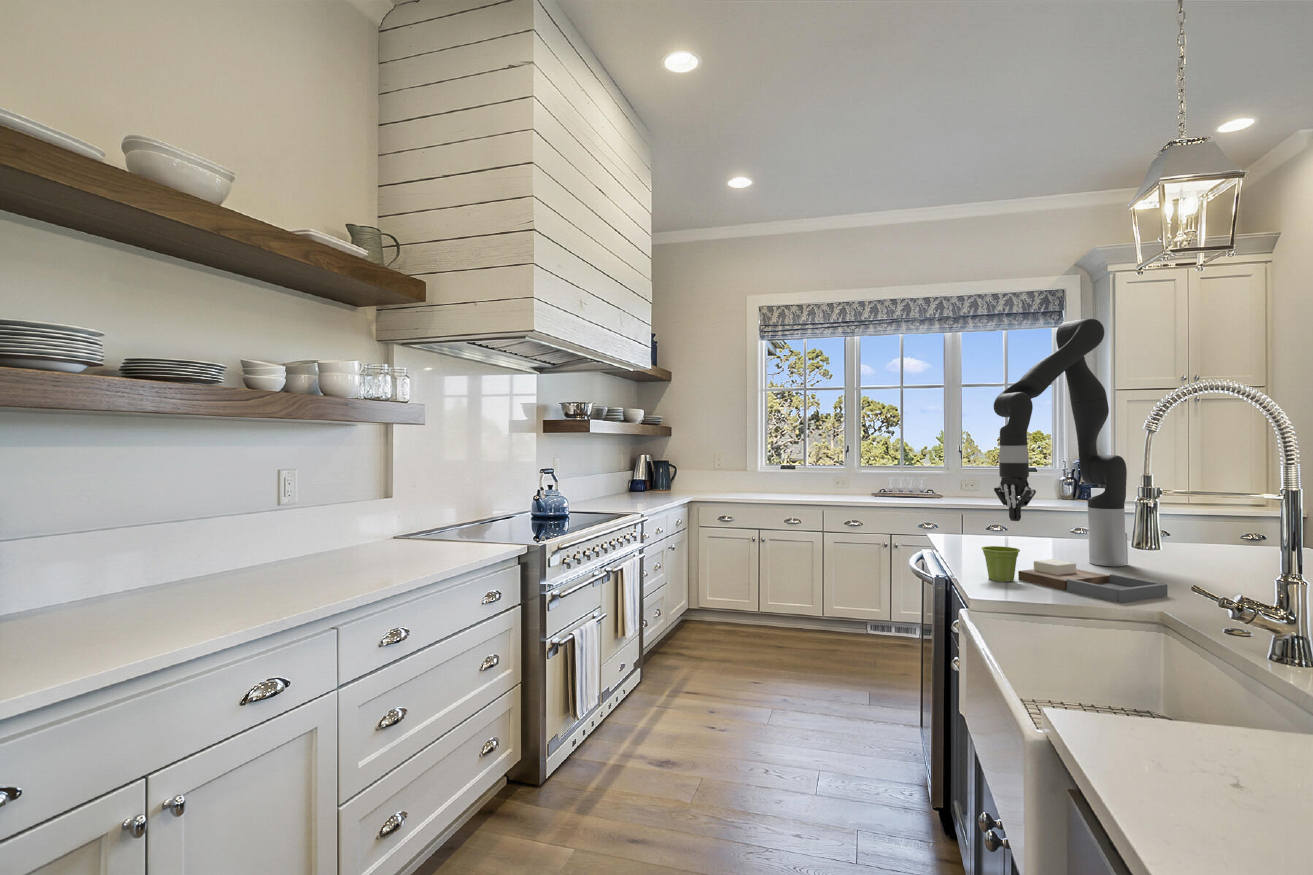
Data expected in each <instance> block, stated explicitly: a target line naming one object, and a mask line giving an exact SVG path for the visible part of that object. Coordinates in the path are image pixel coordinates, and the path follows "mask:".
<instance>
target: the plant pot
mask: <svg viewBox="0 0 1313 875" xmlns="http://www.w3.org/2000/svg"><path fill="white" fill-rule="evenodd" d="M981 550H982V551H983V555H984V557H985V564H986V568H987V576H988V579H989V580H993V581H994V582H1000V583H1001V582H1002V583H1006V582H1007V583H1008V581H1009V582H1014V581H1015V574H1016V566H1017V558H1018V557H1019V552H1020V551H1021V549H1019V548H1017V547H1011V546H1001V545H999V546H998V545H990V546H989V545H987V546H982V547H981Z"/></svg>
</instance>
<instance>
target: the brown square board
mask: <svg viewBox="0 0 1313 875" xmlns="http://www.w3.org/2000/svg"><path fill="white" fill-rule="evenodd" d="M1017 574H1018V575H1017V576H1018V577H1017V578H1018V581H1020V582H1021V581H1022V582H1027V583H1030V584H1034V585H1039V586H1044V587H1048V588H1051V589H1055V590H1061V591H1066V588H1067V579H1073V580H1078V581H1083V582H1087V583H1092V584H1101V583H1110V574H1104V573H1098V572H1094V571H1089V570H1085V569H1077V568H1076V573H1070V574H1061V575H1055V574H1050V573H1045V572H1040V571H1035V570H1034V568H1032V569H1025V570H1018V573H1017ZM1066 592H1067V591H1066Z"/></svg>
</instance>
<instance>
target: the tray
mask: <svg viewBox="0 0 1313 875" xmlns="http://www.w3.org/2000/svg"><path fill="white" fill-rule="evenodd" d="M1109 575H1110V583H1101V584H1092V583H1087V582H1083V581H1078V580H1073V579H1067V588H1066V592H1069V593H1073V594H1079V595H1083V596H1087V597H1089V598H1090V597H1091V598H1096V599H1100V600H1104V601H1109V602H1113V603H1117V604H1125V603H1131V602H1132V603H1133V602H1140V601H1145V600H1146V601H1147V600H1154V599H1162V598H1168V597H1169V596H1168V595H1169V594H1168V584H1167V583H1162V582H1158V581H1153V580H1146V579H1141V578H1136V577H1131V576H1126V575H1120V574H1115V573H1111V574H1109Z"/></svg>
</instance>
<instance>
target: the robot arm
mask: <svg viewBox="0 0 1313 875" xmlns="http://www.w3.org/2000/svg"><path fill="white" fill-rule="evenodd" d="M1055 337H1056V338H1055V340H1056V346H1057V350H1056V351H1054V352H1053V353H1051V354H1049V355H1047V356H1046V357H1044V358H1043V359H1041V360H1039V361H1038V362H1037V363H1034V365H1033V366H1032V367H1031V368H1030V369H1028V371H1027V372H1025V374H1024V375H1023V376H1022V377H1021V378H1020V379H1019V380H1018V381H1016V382H1015V383H1013V384H1012V385H1010V386H1009V387H1007V388H1006V389H1005V390H1003V391H1001V393H999V394H998V396H996V398H995V400H994V402H993V410H994V412H995V414H996V415H998V417H1002V418H1008V421H1007V424H1006V425H1004V426H1002V427H1001V428H999V451H998V452H999V453H998V461H999V462H998V463H999V464H998V468H999V472H998V473H999V475H998V476H999V478H1001V480H1000V481H999V484H1000V485H999V486H997V487H994V488H993V491H994V493H995V494H996V496H997V497H998V500H1000V502H1001V504H1002V505H1003V506H1007V508H1008V518H1009V520H1010V521H1011V522H1019V521H1021V518H1022V508H1023V507H1027V506H1028V505H1029V503H1030V502H1031V500H1032V499H1033V498H1034V497H1035V495H1036V493H1037V490H1035V489H1032V488H1031V487H1030V486H1029V485H1030V484H1029V482H1028V478H1029V476H1030V467H1029V466H1030V464H1029V463H1030V461H1029V460H1030V459H1029V458H1030V457H1029V449H1028V433H1027V432H1028V429H1029V425H1030V422H1031V418H1032V414H1033V406H1034V405H1033V401H1032V399H1034V398H1035V399H1036V398H1038V397H1039V396H1040V395H1042V394H1043V393H1044V392H1045V391H1046V390H1047V389H1048V388H1049V386H1051V385H1052V384H1053V382H1055V380H1056V379H1058V377H1059V376H1061V375H1062V374H1063V373H1064V372H1065V377H1066V382H1067V383H1066V384H1067V387H1068V393H1069V394H1068V395H1069V402H1070V407H1071V411H1072V415H1073V421H1074V426H1075V431H1076V440H1077V448H1078V450H1077V451H1078V462H1079V464H1078V465H1079V471H1080V475H1081V478H1082V480H1083V482H1084V483H1086V484H1087V485H1093V486H1094V485H1095V486H1105V487H1104V491H1103V492H1102V493H1100V494H1097V495H1095V496H1090V497H1089V498H1088V499H1087V524H1088V528H1087V529H1088V530H1087V531H1088V561H1089V562H1088V563H1089V564H1091V565H1096V566H1104V567H1126V566H1127V565H1129V555H1128V554H1129V553H1128V549H1129V548H1128V533H1127V532H1126V517H1125V516H1126V515H1125V504H1126V500H1127V499H1126V498H1127V480H1128V478H1127V473H1128V469H1127V465H1126V464H1127V463H1126V461H1125V459H1124V458H1123V457H1122V456H1120V455H1116V454H1115V455H1113V454H1112V455H1111V454H1098V449H1097V441H1098V437H1099V434H1100V433H1101V430H1102V428H1103V427H1104V425H1105V423H1106V421H1107V419H1108V416H1109V412H1110V411H1109V410H1110V408H1109V403H1108V402H1109V401H1108V396H1107V391H1106V389H1105V387H1104V386H1103V384H1102V383H1101V381H1100V380H1099V379H1098V378H1097V376H1096V375H1095V374H1094V373H1093V371H1091V369H1090V368H1089V366H1088V365H1087V364H1088V363H1087V362H1086V358H1085V356H1086V355H1087V354H1088V353H1090V352H1092V351H1093V350H1094V349H1096V348H1098V346H1100V344H1101V343H1102V341H1103V339H1104V338H1105V328H1104V326H1103V324H1102V322H1101V321H1100V320H1099V319H1095V318H1083V319H1075V320H1070V321H1065V322H1063V323H1061V324H1060V325H1059V326H1058V327H1057V330H1056V333H1055Z"/></svg>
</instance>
